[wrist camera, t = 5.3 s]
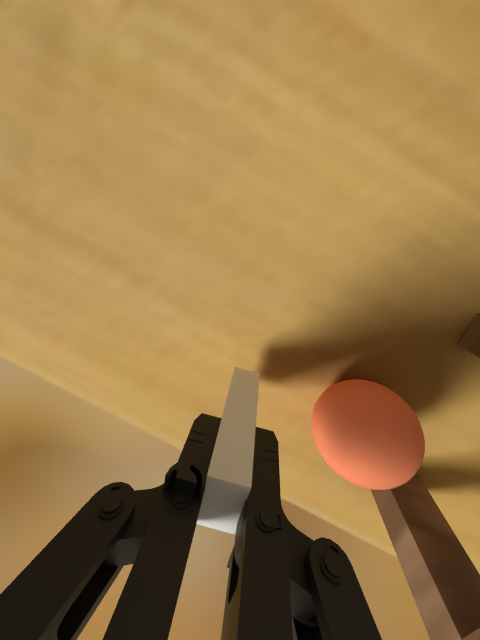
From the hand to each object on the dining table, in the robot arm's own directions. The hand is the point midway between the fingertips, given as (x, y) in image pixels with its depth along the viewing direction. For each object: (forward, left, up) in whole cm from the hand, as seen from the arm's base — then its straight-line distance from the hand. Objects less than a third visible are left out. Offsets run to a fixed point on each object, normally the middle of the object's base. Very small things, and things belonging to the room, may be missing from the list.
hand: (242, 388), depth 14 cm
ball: (0, +7, +1) cm, 7 cm away
